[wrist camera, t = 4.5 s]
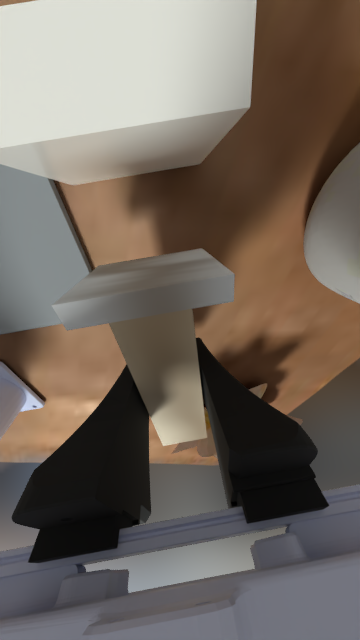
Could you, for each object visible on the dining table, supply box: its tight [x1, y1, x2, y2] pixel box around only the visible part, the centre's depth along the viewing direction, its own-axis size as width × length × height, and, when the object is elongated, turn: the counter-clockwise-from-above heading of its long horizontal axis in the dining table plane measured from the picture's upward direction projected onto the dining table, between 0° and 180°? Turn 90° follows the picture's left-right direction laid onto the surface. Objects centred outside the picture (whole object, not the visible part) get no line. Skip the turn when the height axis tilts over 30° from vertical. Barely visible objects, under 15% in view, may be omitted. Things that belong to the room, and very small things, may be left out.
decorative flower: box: [171, 383, 302, 459], centre depth 22 cm, size 15×11×10 cm
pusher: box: [51, 248, 235, 446], centre depth 11 cm, size 6×11×5 cm, turn 8°
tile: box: [0, 0, 257, 185], centre depth 7 cm, size 8×2×7 cm, turn 98°
